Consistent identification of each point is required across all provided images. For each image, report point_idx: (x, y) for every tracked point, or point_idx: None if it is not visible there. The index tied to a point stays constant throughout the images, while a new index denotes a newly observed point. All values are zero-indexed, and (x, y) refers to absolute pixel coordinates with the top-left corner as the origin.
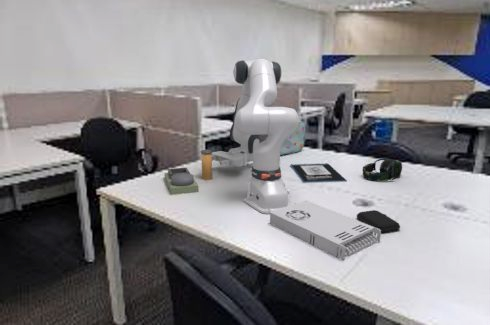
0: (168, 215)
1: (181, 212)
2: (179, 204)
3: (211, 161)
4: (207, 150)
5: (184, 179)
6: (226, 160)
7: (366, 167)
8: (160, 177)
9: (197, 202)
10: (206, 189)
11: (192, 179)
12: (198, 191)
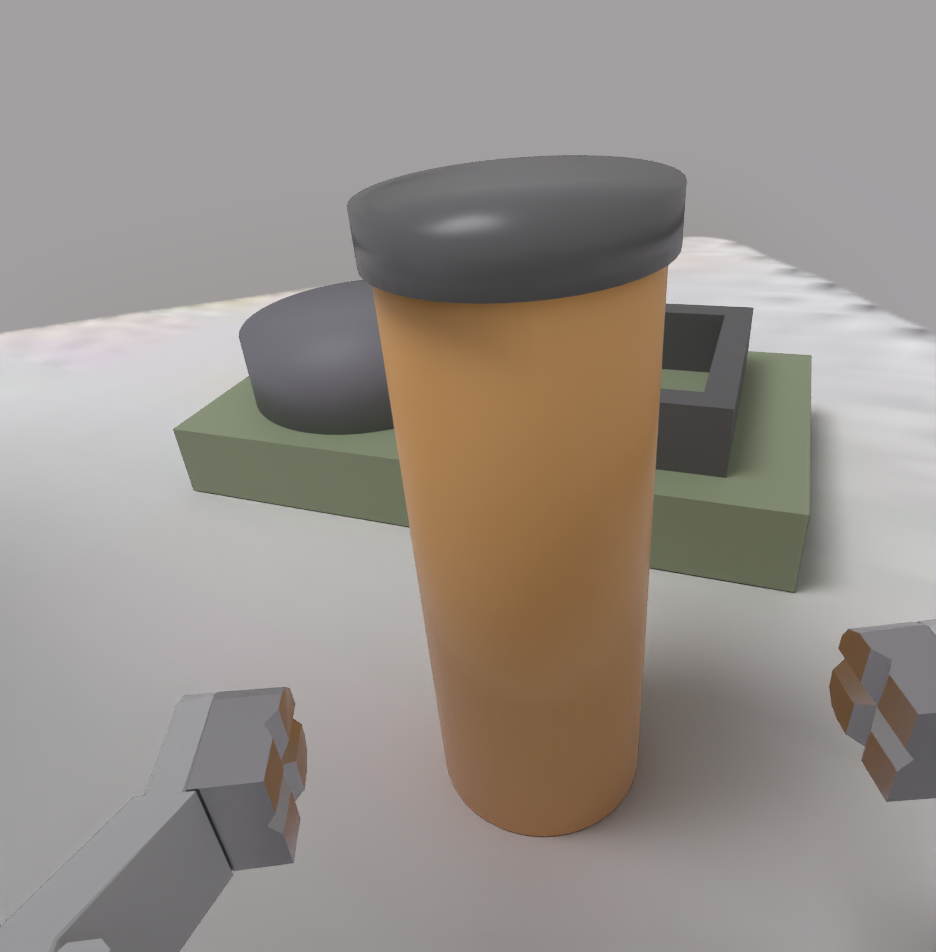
0: (93, 326)
1: (48, 356)
2: (144, 370)
3: (417, 503)
4: (550, 196)
5: (264, 311)
6: (89, 873)
7: None
8: (864, 406)
9: (42, 428)
10: (168, 556)
11: (250, 368)
12: (192, 485)
